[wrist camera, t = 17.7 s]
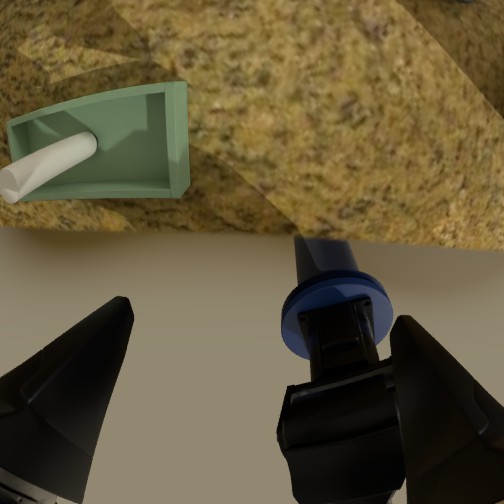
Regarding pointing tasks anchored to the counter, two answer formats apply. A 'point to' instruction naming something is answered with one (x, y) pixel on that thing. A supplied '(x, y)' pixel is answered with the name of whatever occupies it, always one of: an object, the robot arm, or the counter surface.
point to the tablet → (466, 1)
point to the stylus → (45, 165)
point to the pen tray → (113, 143)
